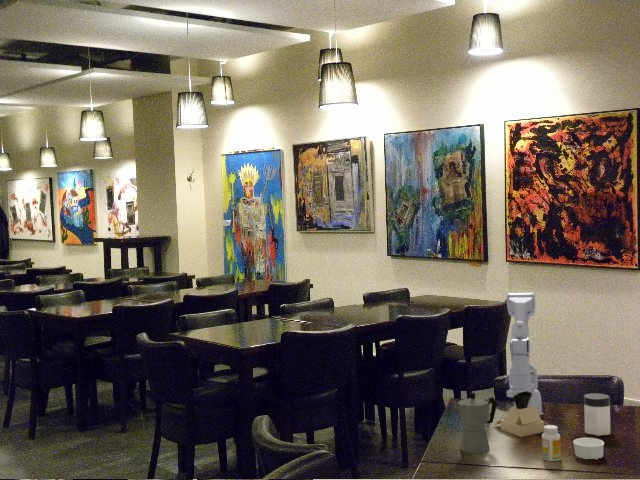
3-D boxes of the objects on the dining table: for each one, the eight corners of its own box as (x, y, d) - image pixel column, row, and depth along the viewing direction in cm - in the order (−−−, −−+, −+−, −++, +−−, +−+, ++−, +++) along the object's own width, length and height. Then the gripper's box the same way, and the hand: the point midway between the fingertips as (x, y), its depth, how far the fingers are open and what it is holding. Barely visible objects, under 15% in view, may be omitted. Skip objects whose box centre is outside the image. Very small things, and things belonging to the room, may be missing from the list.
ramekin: (600, 462, 236) (600, 447, 236) (570, 458, 241) (569, 444, 241) (607, 453, 244) (607, 439, 244) (577, 450, 249) (577, 436, 248)
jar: (616, 432, 265) (616, 396, 264) (603, 437, 260) (602, 400, 259) (592, 426, 272) (591, 391, 271) (578, 432, 267) (577, 396, 266)
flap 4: (524, 415, 277) (533, 421, 279) (543, 421, 269) (552, 427, 271) (524, 414, 277) (534, 421, 279) (543, 420, 269) (553, 427, 271)
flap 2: (505, 420, 271) (511, 407, 272) (515, 423, 266) (522, 410, 267) (505, 420, 270) (511, 406, 272) (515, 423, 266) (521, 409, 267)
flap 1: (522, 415, 277) (514, 420, 281) (522, 414, 277) (514, 420, 281) (501, 419, 273) (493, 425, 277) (500, 418, 273) (493, 424, 277)
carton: (523, 425, 277) (523, 415, 277) (544, 431, 268) (543, 421, 268) (500, 429, 273) (500, 419, 273) (520, 437, 264) (520, 426, 264)
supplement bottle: (561, 456, 243) (560, 424, 242) (560, 462, 238) (559, 429, 237) (542, 455, 245) (541, 423, 244) (541, 461, 239) (540, 428, 239)
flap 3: (540, 420, 268) (536, 406, 270) (541, 420, 268) (536, 406, 269) (522, 424, 264) (517, 409, 266) (522, 424, 264) (517, 409, 266)
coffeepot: (465, 456, 246) (463, 398, 245) (448, 448, 255) (446, 392, 254) (507, 448, 252) (505, 392, 252) (489, 441, 261) (487, 386, 260)
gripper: (522, 369, 278) (523, 408, 278) (498, 376, 268) (499, 417, 268) (540, 371, 273) (541, 411, 273) (516, 379, 263) (518, 420, 263)
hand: (522, 414), depth 270 cm, fingers closed
